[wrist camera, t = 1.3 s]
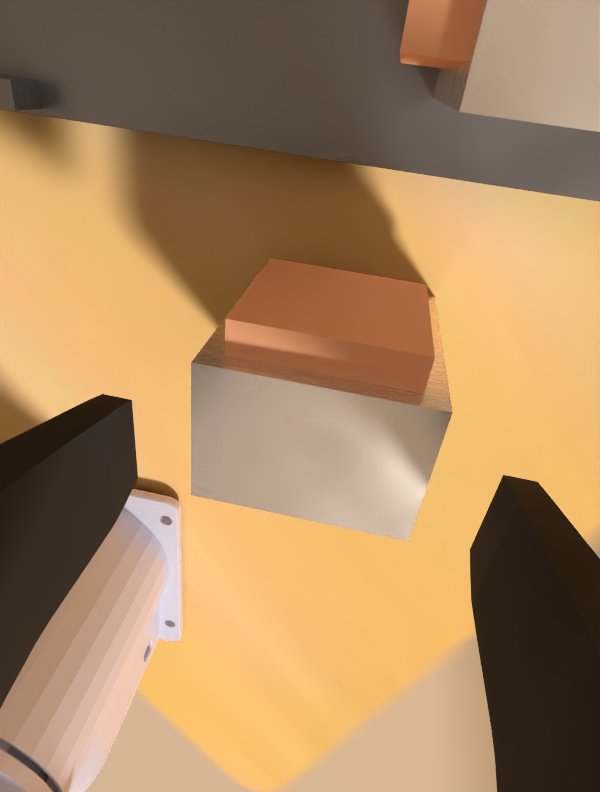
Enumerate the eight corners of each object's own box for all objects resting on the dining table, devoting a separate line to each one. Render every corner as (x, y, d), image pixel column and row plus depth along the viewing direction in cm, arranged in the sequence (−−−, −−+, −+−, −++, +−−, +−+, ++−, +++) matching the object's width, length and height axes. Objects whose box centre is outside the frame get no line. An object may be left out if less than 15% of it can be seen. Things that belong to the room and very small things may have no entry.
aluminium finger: (406, 399, 16) (408, 541, 11) (255, 370, 17) (191, 494, 12) (442, 269, 14) (464, 375, 9) (265, 239, 14) (191, 324, 9)
